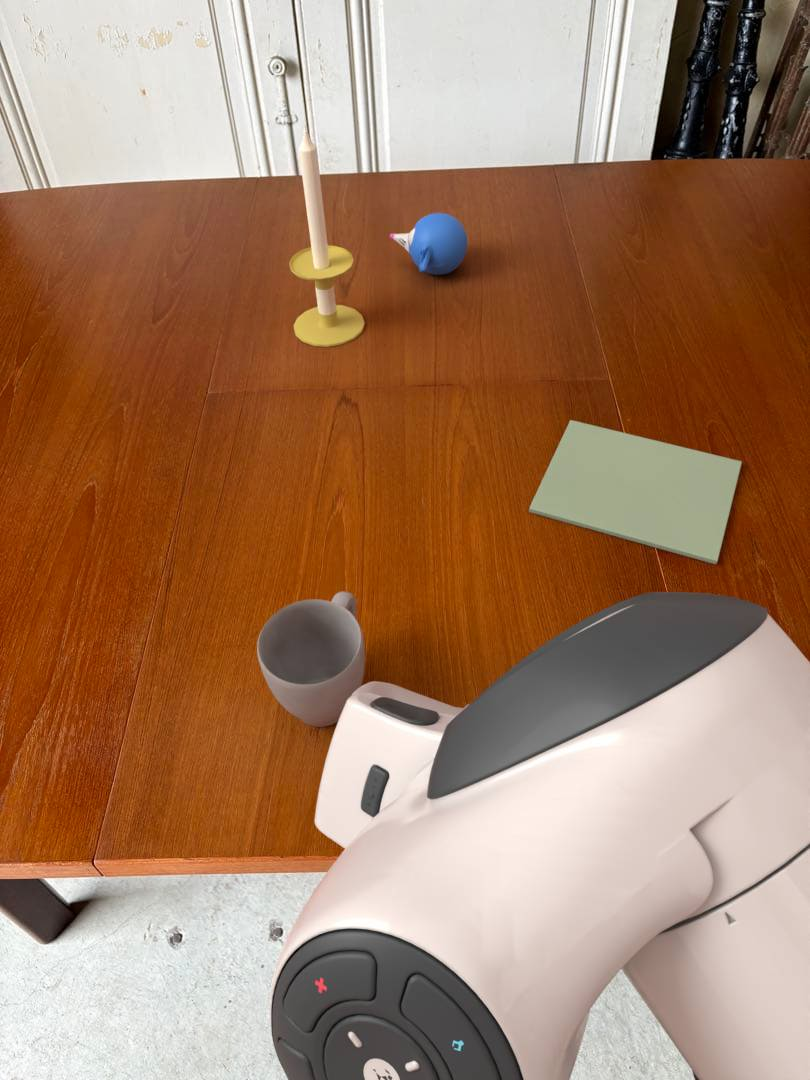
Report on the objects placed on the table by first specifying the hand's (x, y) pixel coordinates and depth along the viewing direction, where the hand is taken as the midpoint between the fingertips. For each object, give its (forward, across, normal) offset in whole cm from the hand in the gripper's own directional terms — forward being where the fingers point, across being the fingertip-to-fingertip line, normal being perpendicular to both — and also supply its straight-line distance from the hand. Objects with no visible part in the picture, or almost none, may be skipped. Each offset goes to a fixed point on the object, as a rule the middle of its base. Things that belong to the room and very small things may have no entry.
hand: (553, 748), depth 47 cm
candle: (+58, +49, -28) cm, 81 cm away
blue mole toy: (+72, +42, -42) cm, 93 cm away
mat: (+47, +2, -17) cm, 50 cm away
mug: (+22, +22, +8) cm, 32 cm away
